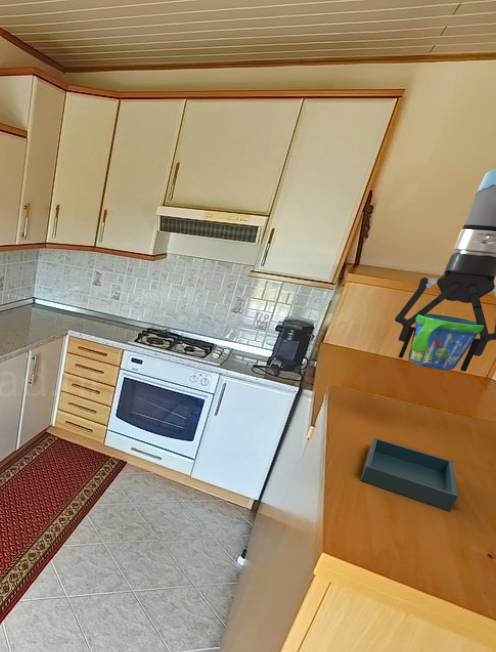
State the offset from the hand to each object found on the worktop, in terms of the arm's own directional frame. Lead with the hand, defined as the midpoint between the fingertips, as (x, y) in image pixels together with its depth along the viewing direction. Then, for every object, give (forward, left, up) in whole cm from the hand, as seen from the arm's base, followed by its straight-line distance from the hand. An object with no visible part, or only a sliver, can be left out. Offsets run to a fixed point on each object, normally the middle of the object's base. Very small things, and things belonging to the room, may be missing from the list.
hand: (430, 363), depth 103 cm
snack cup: (0, 0, -1) cm, 1 cm away
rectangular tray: (-2, +25, -17) cm, 30 cm away
